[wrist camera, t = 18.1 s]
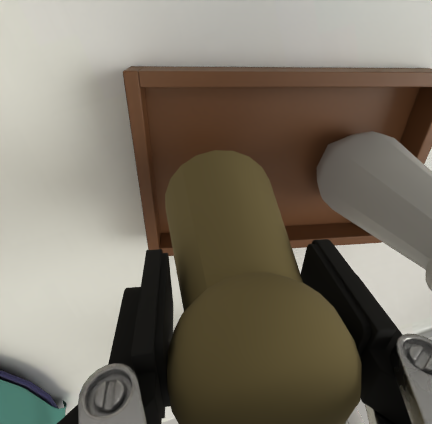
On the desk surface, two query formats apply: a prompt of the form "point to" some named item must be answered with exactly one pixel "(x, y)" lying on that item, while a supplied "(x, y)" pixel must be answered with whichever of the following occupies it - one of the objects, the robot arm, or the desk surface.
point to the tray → (270, 131)
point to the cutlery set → (26, 402)
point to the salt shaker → (381, 192)
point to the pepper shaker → (249, 308)
